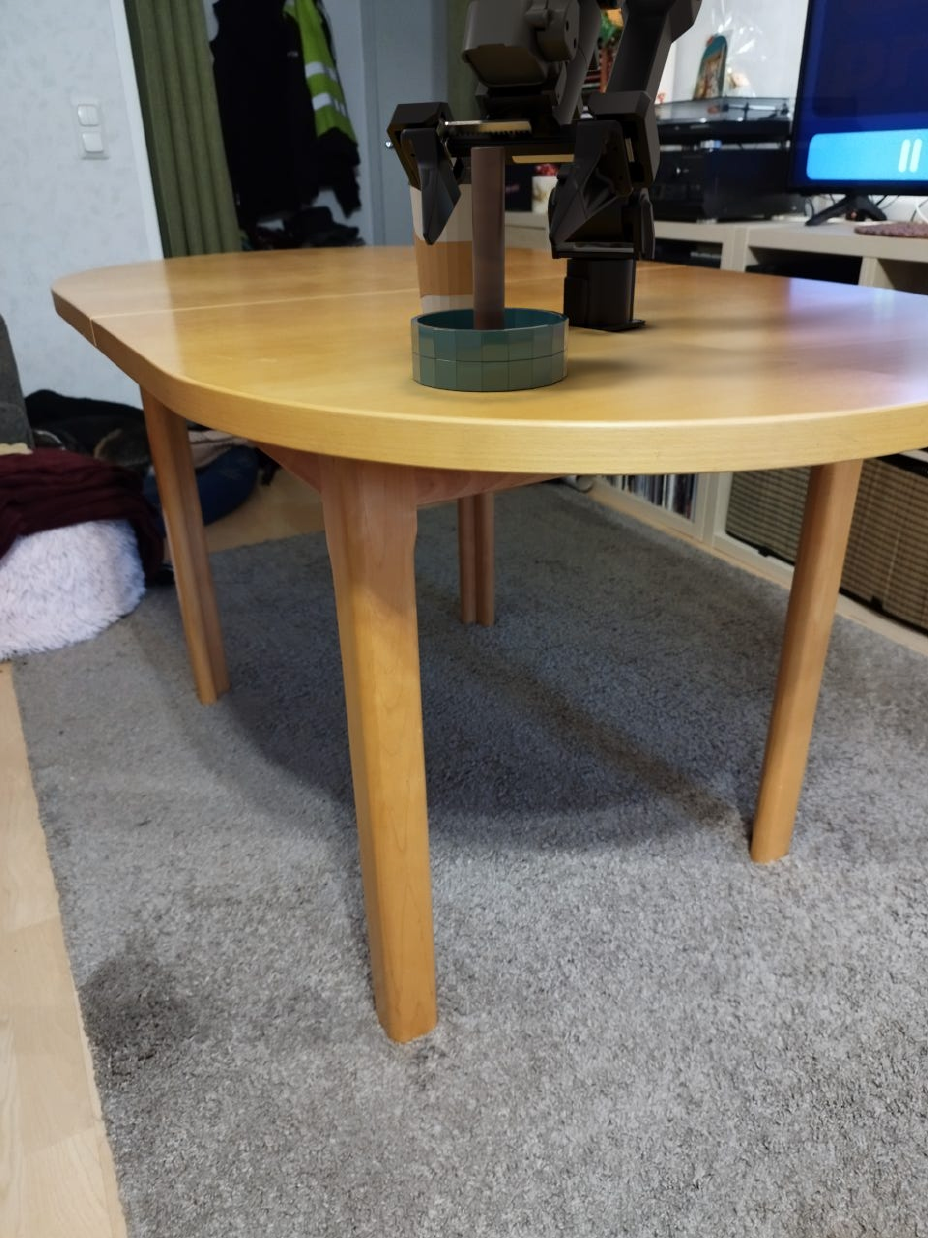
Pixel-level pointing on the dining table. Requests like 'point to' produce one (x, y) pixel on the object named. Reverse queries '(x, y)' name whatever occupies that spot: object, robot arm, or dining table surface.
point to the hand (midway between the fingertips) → (488, 241)
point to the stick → (488, 237)
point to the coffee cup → (446, 255)
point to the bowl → (489, 350)
